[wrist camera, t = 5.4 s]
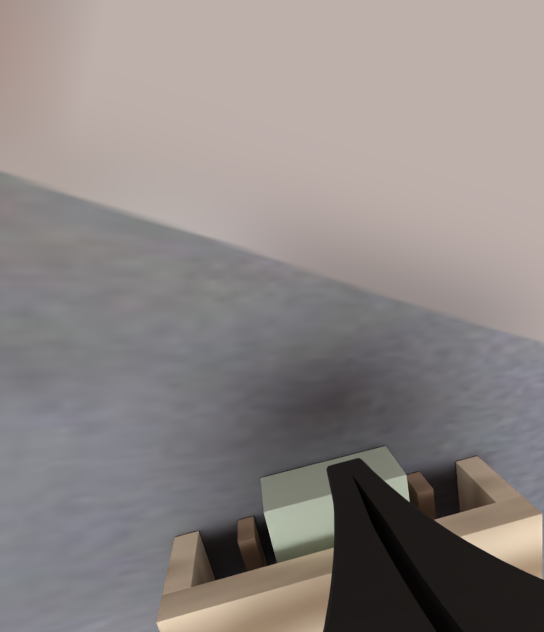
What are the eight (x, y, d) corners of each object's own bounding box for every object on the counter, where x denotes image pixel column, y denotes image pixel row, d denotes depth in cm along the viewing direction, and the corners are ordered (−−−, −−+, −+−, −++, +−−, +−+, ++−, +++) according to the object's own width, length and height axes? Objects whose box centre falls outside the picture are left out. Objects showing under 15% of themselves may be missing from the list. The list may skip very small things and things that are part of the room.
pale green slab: (397, 533, 21) (417, 570, 19) (282, 564, 21) (288, 607, 18) (385, 445, 20) (406, 474, 17) (260, 478, 19) (263, 512, 17)
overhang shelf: (481, 522, 22) (542, 592, 17) (198, 601, 21) (187, 696, 16) (477, 455, 20) (542, 513, 16) (174, 537, 19) (156, 622, 15)
